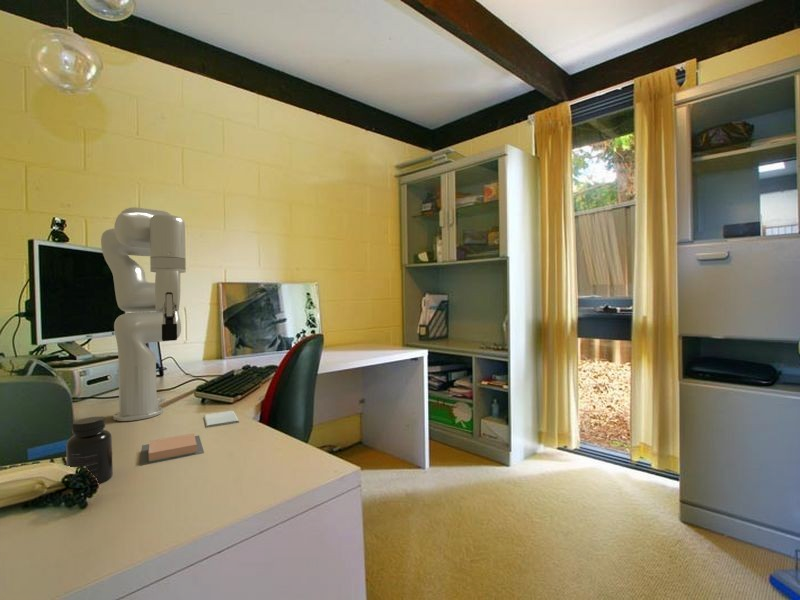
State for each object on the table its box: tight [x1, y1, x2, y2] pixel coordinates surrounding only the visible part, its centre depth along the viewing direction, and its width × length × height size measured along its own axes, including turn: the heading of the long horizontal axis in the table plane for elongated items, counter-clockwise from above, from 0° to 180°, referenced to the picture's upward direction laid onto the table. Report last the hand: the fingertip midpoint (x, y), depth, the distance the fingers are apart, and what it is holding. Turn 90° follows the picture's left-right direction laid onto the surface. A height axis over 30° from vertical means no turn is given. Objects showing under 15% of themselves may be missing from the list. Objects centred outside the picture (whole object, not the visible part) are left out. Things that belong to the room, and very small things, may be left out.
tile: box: [148, 432, 197, 462], centre depth 88 cm, size 2×9×9 cm
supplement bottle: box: [65, 416, 114, 485], centre depth 74 cm, size 7×7×12 cm
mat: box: [139, 434, 205, 467], centre depth 90 cm, size 14×12×1 cm
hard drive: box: [203, 410, 240, 429], centre depth 113 cm, size 2×8×12 cm
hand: (169, 340), depth 96 cm, fingers closed
